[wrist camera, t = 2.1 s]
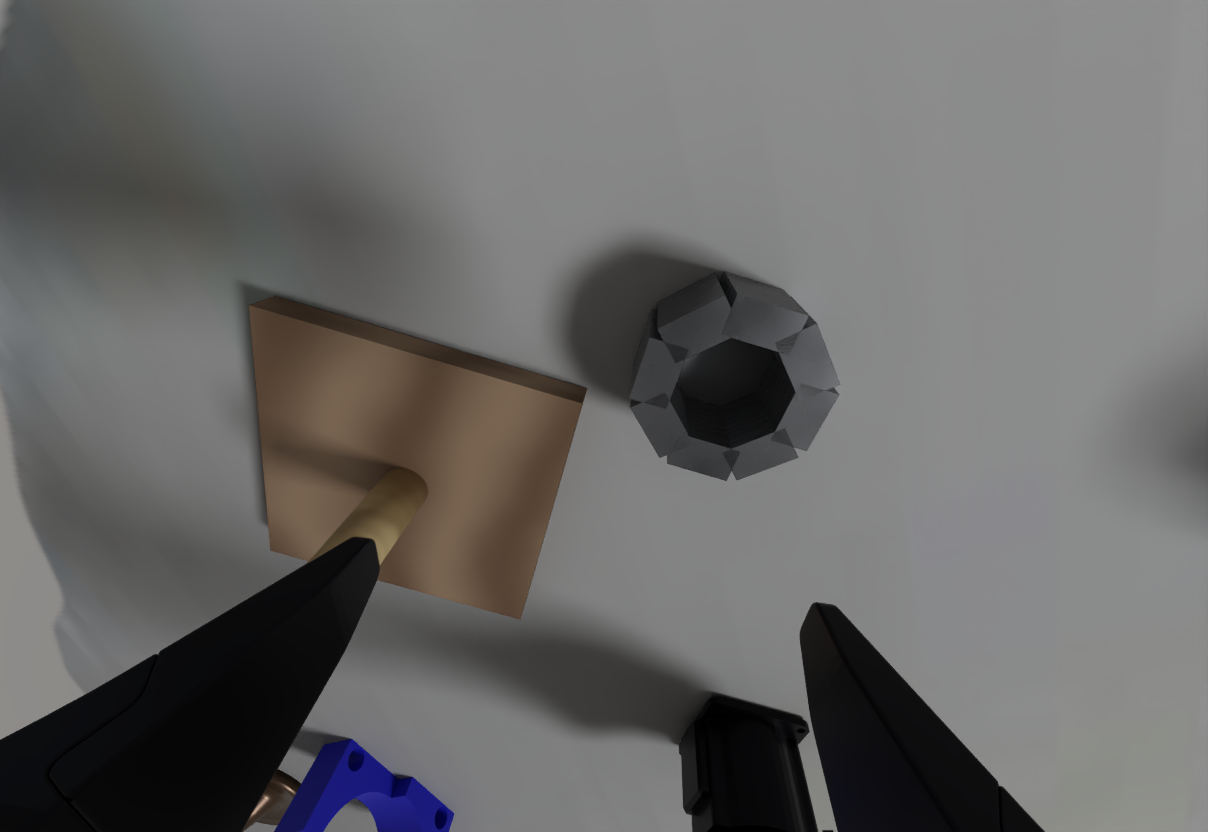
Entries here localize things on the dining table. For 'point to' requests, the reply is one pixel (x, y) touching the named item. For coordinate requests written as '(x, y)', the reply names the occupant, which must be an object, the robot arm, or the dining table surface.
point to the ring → (748, 425)
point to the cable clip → (362, 794)
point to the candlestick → (274, 800)
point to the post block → (408, 453)
